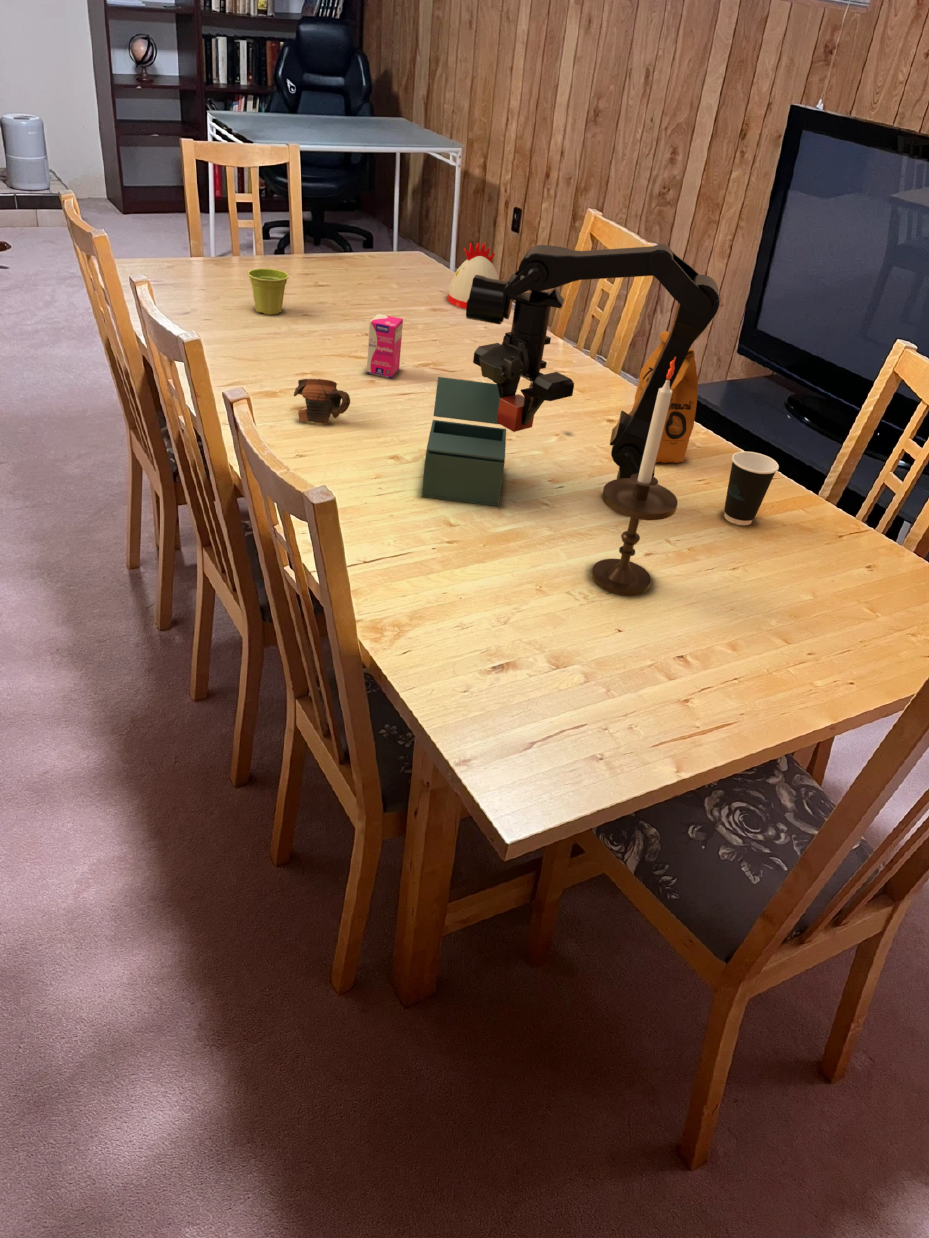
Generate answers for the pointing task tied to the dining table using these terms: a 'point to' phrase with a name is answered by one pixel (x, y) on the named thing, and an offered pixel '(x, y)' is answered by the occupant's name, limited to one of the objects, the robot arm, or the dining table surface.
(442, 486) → the carton
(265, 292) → the plant pot
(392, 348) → the supplement box
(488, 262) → the kitchen timer
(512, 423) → the block
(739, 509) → the dixie cup
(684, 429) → the coffee package
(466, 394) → the flap
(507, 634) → the dining table surface
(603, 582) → the candlestick
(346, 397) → the pottery mug
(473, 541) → the dining table surface
